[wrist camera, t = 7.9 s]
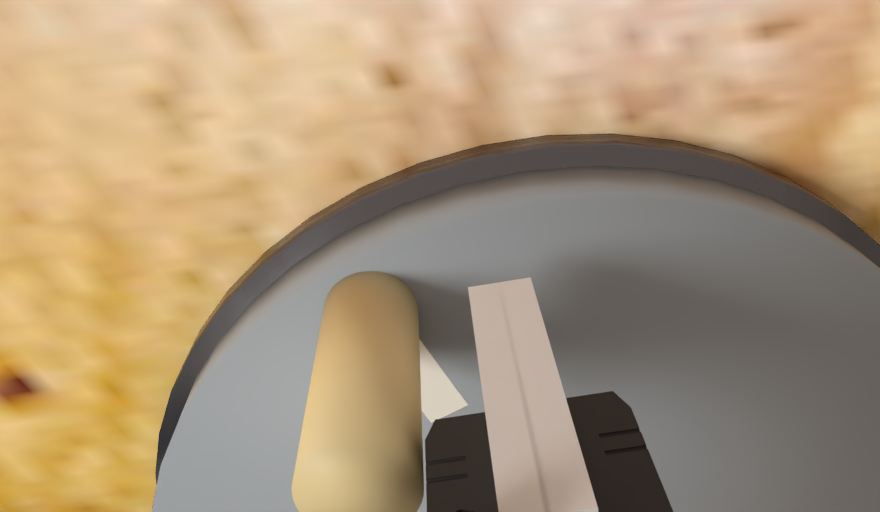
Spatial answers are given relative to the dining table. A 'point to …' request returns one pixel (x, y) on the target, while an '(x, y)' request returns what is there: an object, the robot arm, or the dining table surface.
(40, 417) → the dining table surface
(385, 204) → the turntable base
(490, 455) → the robot arm
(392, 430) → the turntable
